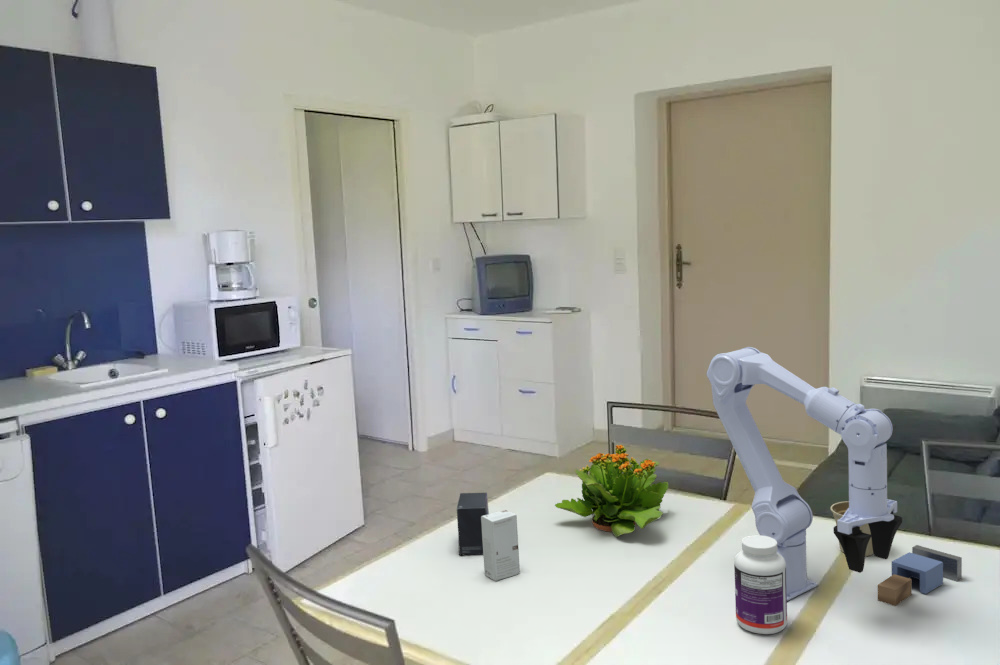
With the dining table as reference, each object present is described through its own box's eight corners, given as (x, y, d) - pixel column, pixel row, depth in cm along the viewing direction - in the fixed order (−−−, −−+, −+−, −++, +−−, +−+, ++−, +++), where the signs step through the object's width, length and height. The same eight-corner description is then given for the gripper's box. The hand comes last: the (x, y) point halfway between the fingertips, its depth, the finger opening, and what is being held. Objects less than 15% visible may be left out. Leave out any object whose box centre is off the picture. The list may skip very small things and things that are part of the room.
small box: (489, 554, 166) (486, 506, 165) (458, 556, 166) (455, 508, 165) (491, 536, 177) (487, 490, 175) (462, 537, 177) (458, 492, 176)
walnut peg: (895, 607, 133) (895, 590, 133) (877, 601, 135) (877, 584, 135) (911, 595, 137) (911, 579, 136) (894, 590, 139) (893, 574, 139)
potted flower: (546, 540, 172) (541, 462, 170) (568, 504, 194) (564, 435, 192) (662, 546, 164) (658, 465, 162) (671, 508, 187) (668, 436, 185)
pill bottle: (747, 609, 135) (745, 528, 134) (794, 621, 130) (792, 537, 128) (728, 628, 129) (725, 544, 127) (776, 642, 124) (774, 554, 122)
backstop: (957, 581, 140) (957, 560, 140) (912, 567, 147) (912, 547, 146) (961, 578, 141) (961, 557, 141) (916, 565, 148) (916, 544, 147)
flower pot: (877, 564, 149) (876, 520, 148) (825, 555, 155) (824, 512, 154) (888, 547, 157) (887, 505, 156) (838, 538, 162) (837, 498, 161)
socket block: (925, 593, 136) (925, 571, 136) (891, 582, 141) (891, 561, 141) (943, 583, 139) (943, 562, 139) (909, 573, 144) (909, 552, 144)
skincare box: (495, 582, 152) (491, 522, 151) (483, 574, 156) (479, 516, 155) (521, 573, 156) (517, 514, 154) (509, 566, 160) (505, 508, 158)
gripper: (866, 500, 122) (867, 584, 123) (915, 479, 130) (915, 558, 131) (824, 490, 127) (826, 570, 129) (874, 471, 136) (874, 546, 137)
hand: (868, 563), depth 131 cm, fingers open, 7 cm apart
